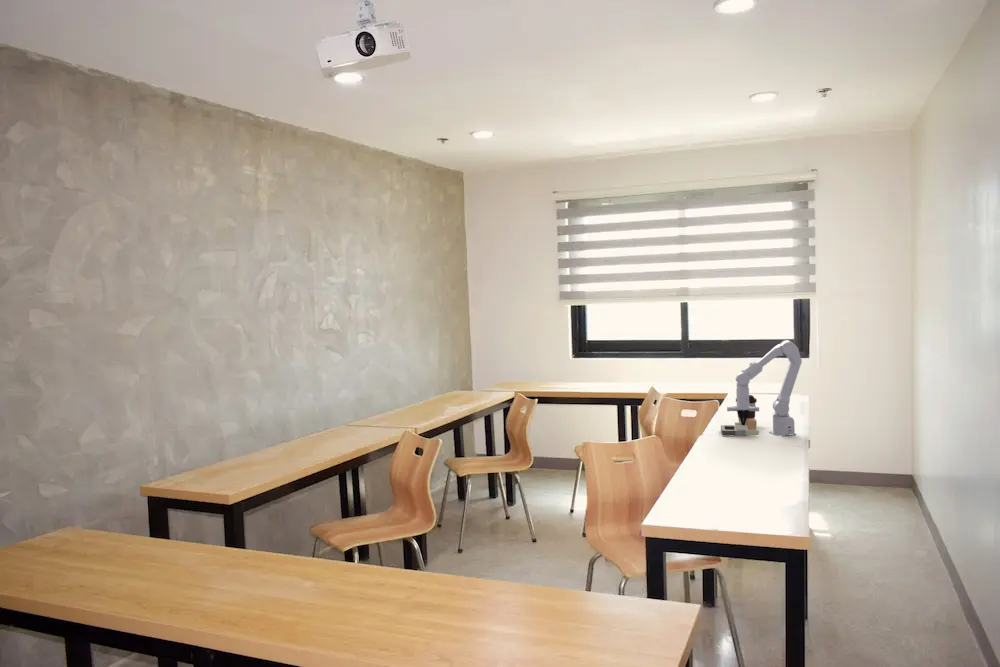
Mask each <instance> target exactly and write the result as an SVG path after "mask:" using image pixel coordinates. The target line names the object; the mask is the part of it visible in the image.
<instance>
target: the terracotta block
mask: <svg viewBox="0 0 1000 667" xmlns="http://www.w3.org/2000/svg"><path fill="white" fill-rule="evenodd" d="M757 423H758V422H757V419H756V418H755V419H747V429H757V428H758V425H757Z"/></svg>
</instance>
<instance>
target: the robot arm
mask: <svg viewBox="0 0 1000 667" xmlns="http://www.w3.org/2000/svg"><path fill="white" fill-rule="evenodd" d="M784 355H785V356H786V358H787V359H788V362H789V364H788V366H787V369H786V370H787V371H786V372H785V376H784V379H783V382H782V384H781V385H782V386H781V387H780V388H781V389H780V390H779V394H778V396H777V397H776V399H775V401H773V403H772V408H773V410H774V412H772V431H768V433H769V434H772V433H773V434H772V435H776V434H777V436H780V435H781V436H780V437H786V436H785V435H788V436H791V435H790V434H795V435H796V434H797V433H796V432H795V420H794V418H793V417H791V416H790V413H789V411H790V407H789V405H790V401H791V395H792V392H793V389H794V386H795V384H796V381H797V377H798V374H799V372H800V369H801V366H802V362H803V361H802V357H801V354H800V351H799V347H798V346H797V345H796V344H795V343H794V342H792V341H791V340H787V339H784V340H782V341H781V342H780V343H779V344H777V345H775V346H774V347H773V348H771V350H770V351H768V352H767V353H765V355H764V356H762V358H760V360H758V361H753V362H749V364H748V366H747V367H746V368H744V369H741V372H739V373H737V374H736V377H735V381H736V388H735V389H736V390H735V391H736V392H735V393H736V398H737V402H736V406H727V407H726V411H727V412H737V413H736V414H737V416H738V415H739V417H740V420H741V424H742V425H745V423H746V419H747V417H748V415H749V411H755V412H760V407H759V406H756V407H751V406H749V395H750V387H749V384H750V381H751V380H753V379H754V378H756V377H757V376H758V375H759V374H761V373H762V371H763V367H764V366H766V365H767V364H768V363H770V362H771V361H772V360H774V359H775V358H776V357H782V356H784Z"/></svg>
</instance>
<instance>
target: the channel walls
mask: <svg viewBox="0 0 1000 667" xmlns="http://www.w3.org/2000/svg"><path fill="white" fill-rule="evenodd" d="M734 425H735V427H736V430H747V425H746V423H745V425H742V424H741V422H739V421H735V422H734Z"/></svg>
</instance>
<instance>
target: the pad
mask: <svg viewBox="0 0 1000 667" xmlns="http://www.w3.org/2000/svg"><path fill="white" fill-rule="evenodd" d="M758 428H759V427H757V429H747V430H745V433H746V435H760V431H759V429H758Z"/></svg>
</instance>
